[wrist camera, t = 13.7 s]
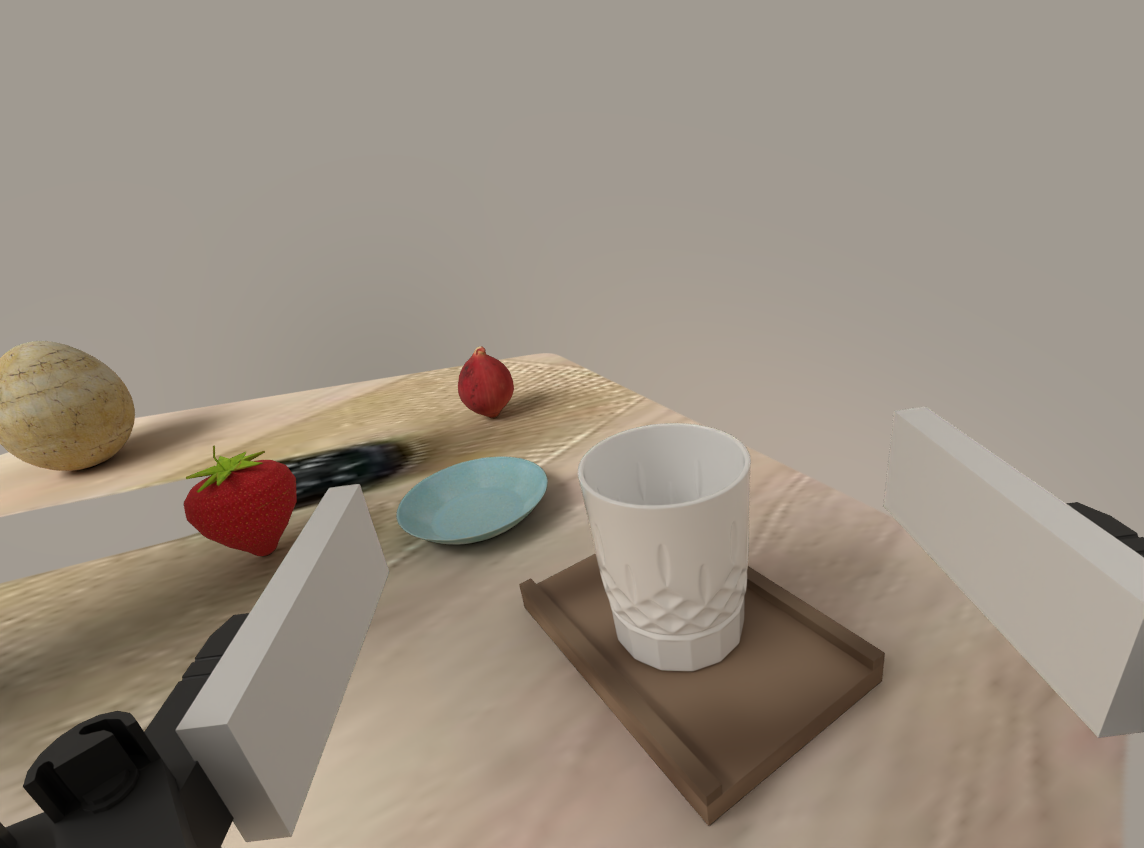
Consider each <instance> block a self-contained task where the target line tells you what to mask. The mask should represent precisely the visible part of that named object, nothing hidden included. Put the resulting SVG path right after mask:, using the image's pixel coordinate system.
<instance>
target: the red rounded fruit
mask: <svg viewBox="0 0 1144 848" xmlns="http://www.w3.org/2000/svg"><path fill="white" fill-rule="evenodd" d="M513 391H514V385H513V380H512V377H511V374H510V372H509V370H508V369H507V367H506V366H505V365H504V364H503V363H502V362H500V361H499V360H497V359H495V358H493V357H491V356H489V355H486V352H485V348H483V347H478V348H477V349H476V350H475V351H474V353H473V355H472V356H471V358H470V359H469V360H468V361H467V362H466V363H465V364H464V366H463V368H462V370H461V372H460V375H459V382H458V393H459V396H460V398H461V401H462V402H463V403H464V404H465V405H466V407H468V408H469V409H470V410H472V411H474V412H475V413H478V414H481V415H484V416H487V417H490V418H494V417H497V416H498V415H499V413H500V412H501V410H502V409H503V408H504V407H505V406H506V405H507V403H508V402H509V400H510V399H511V397H512V394H513Z"/></svg>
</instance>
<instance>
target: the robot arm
mask: <svg viewBox="0 0 1144 848" xmlns="http://www.w3.org/2000/svg"><path fill="white" fill-rule="evenodd" d="M883 506H884V508H885V509H886V510H887V511H888V512H889V513H890V514H891V515H892V516H893V517H894V518H895V519H896V520H897V522H898V523H899V524H900V525H901V526H902V527H903V528H904V529H905V530H906V531H907V532H908V533H909V534H910V536H911V537H912V538H913V539H914V540H915V541H916V542H917V543H918V544H919V545H920V546H921V547H922V549H923V550H924V551H925V552H926V553H927V554H928V555H929V556H930V557H931V558H932V559H933V560H934V561H935V563H936V564H937V565H938V566H939V567H940V568H941V569H942V570H943V571H944V572H945V573H946V574H947V575H948V577H949V578H950V579H951V580H952V581H953V582H954V583H955V584H956V585H957V586H958V587H959V588H960V589H961V591H962V592H963V593H964V594H965V595H966V596H967V597H968V598H969V599H970V600H971V601H972V602H973V603H974V605H975V606H976V607H977V608H978V609H979V610H980V611H981V612H982V613H983V614H984V615H985V616H986V617H987V619H988V620H989V621H990V622H991V623H992V624H993V625H994V626H995V627H996V628H997V629H998V630H999V631H1000V633H1001V634H1002V635H1003V636H1004V637H1005V638H1006V639H1007V640H1008V641H1009V642H1010V643H1011V644H1012V645H1013V647H1014V648H1015V649H1016V650H1017V651H1018V652H1019V653H1020V654H1021V655H1022V656H1023V657H1024V658H1025V659H1026V661H1027V662H1028V663H1029V664H1030V665H1031V666H1032V667H1033V668H1034V669H1035V670H1036V671H1037V672H1038V673H1039V675H1040V676H1041V677H1042V678H1043V679H1044V680H1045V681H1046V682H1047V683H1048V684H1049V685H1050V686H1051V687H1052V689H1053V690H1054V691H1055V692H1056V693H1057V694H1058V695H1059V696H1060V697H1061V698H1062V699H1063V700H1064V701H1065V703H1066V704H1067V705H1068V706H1069V707H1070V708H1071V709H1072V710H1073V711H1074V712H1075V713H1076V714H1077V716H1078V717H1079V718H1080V719H1081V720H1082V721H1083V722H1084V723H1085V724H1086V725H1087V726H1088V727H1089V728H1090V730H1091V731H1092V732H1093V733H1094V734H1095V735H1096V736H1097V737H1098V738H1100V737H1108V736H1116V735H1125V734H1133V733H1141V732H1144V538H1143V537H1141V538H1139V537H1138V535H1137V533H1136V532H1134V531H1133V530H1131V529H1130V528H1128V527H1127V526H1125V525H1124V524H1122V523H1121V522H1119V521H1118V520H1116V519H1114V518H1113V517H1112V516H1110V515H1107V514H1105V513H1102V512H1100V511H1097V510H1095V509H1093V508H1090V507H1088V506H1085V505H1083V504H1080V503H1078V502H1075V503H1067V504H1066V503H1064V502H1063V501H1061V500H1060V499H1058V498H1057V497H1056V496H1054V495H1053V494H1051V493H1050V492H1048V491H1047V490H1046V489H1044V488H1043V487H1041V486H1040V485H1038V484H1037V483H1035V482H1034V481H1033V480H1031V479H1030V478H1028V477H1027V476H1025V475H1024V474H1022V473H1021V472H1020V471H1018V470H1017V469H1015V468H1014V467H1012V466H1011V465H1010V464H1008V463H1007V462H1005V461H1004V460H1002V459H1001V458H999V457H998V456H997V455H995V454H994V453H992V452H991V451H989V450H988V449H986V448H985V447H984V446H982V445H981V444H979V443H978V442H976V441H975V440H973V439H972V438H970V437H969V436H968V435H966V434H965V433H963V432H962V431H960V430H959V429H958V428H956V427H955V426H953V425H952V424H950V423H949V422H947V421H946V420H944V419H943V418H942V417H940V416H939V415H937V414H936V413H934V412H933V411H932V410H930V409H929V408H927V407H920V408H913V409H905V410H898V411H894V416H893V425H892V435H891V442H890V451H889V460H888V469H887V478H886V487H885V495H884V504H883ZM388 574H389V569H388V566H387V563H386V560H385V557H384V554H383V551H382V549H381V546H380V543H379V540H378V537H377V534H376V531H375V528H374V525H373V522H372V519H371V516H370V513H369V510H368V507H367V504H366V502H365V499H364V496H363V493H362V490H361V487H360V484H356V485H349V486H341V487H334V488H329V489H328V491H327V492H326V494H325V495H324V497H323V498H322V500H321V502H320V503H319V505H318V506H317V508H316V509H315V511H314V513H313V514H312V516H311V517H310V519H309V521H308V522H307V524H306V525H305V527H304V528H303V530H302V532H301V533H300V535H299V536H298V538H297V539H296V541H295V543H294V544H293V546H292V547H291V549H290V550H289V552H288V554H287V555H286V557H285V558H284V560H283V561H282V563H281V565H280V566H279V568H278V569H277V571H276V572H275V574H274V576H273V577H272V579H271V580H270V582H269V583H268V585H267V587H266V588H265V590H264V591H263V593H262V595H261V596H260V598H259V599H258V601H257V602H256V604H255V606H254V607H253V609H252V610H251V612H250V613H246V614H239V615H233V616H232V617H231V618H230V619H229V620H228V621H226V622H225V623H224V624H223V625H222V626H221V627H220V628H219V629H217V630H216V631H215V632H214V633H213V634H212V635H211V636H210V637H209V638H208V640H207V641H206V643H205V644H204V646H203V647H202V649H201V650H200V652H199V653H198V654H197V656H196V657H195V662H193V663H191V665H190V666H189V668H188V669H187V671H186V672H185V673H184V675H183V676H182V678H183V679H182V681H180V682H178V684H177V685H176V687H175V688H174V689H173V691H172V692H171V694H170V695H169V697H168V698H167V700H166V701H165V703H164V704H163V706H162V707H161V708H160V710H159V711H158V713H157V714H156V716H155V717H154V719H153V720H152V722H151V723H150V724H149V726H148V727H147V729H146V730H145V732H144V731H143V730H142V728H141V727H140V725H139V724H138V722H137V721H136V719H135V718H134V717H133V716H132V715H131V713H127V712H121V711H115V712H110V713H105V714H101V715H98V716H95V717H93V718H91V719H89V720H87V721H84V722H82V723H80V724H78V725H77V726H75V727H74V728H72V729H71V730H69V731H68V732H66V733H64V734H63V735H61V736H60V737H58V738H57V739H56V740H55V741H54V742H53V743H52V744H51V745H50V746H49V747H47V748H46V749H45V750H44V751H43V752H42V753H41V754H40V755H39V756H38V758H37V759H36V760H35V762H34V763H33V765H32V766H31V767H30V769H29V770H28V772H27V775H26V778H25V781H24V785H23V787H24V789H25V790H26V791H27V792H28V793H29V795H30V796H31V797H32V798H33V799H34V800H35V802H36V803H37V804H38V805H39V806H40V807H41V809H42V810H43V811H44V812H43V813H41V814H38V815H36V816H33V817H31V818H28V819H26V820H23V821H21V822H18V823H16V824H13V825H11V826H8V827H4V826H3V825H2V824H1V823H0V848H221V845H222V843H223V840H224V838H225V836H226V834H227V832H228V830H229V828H230V825H231V823H232V821H233V822H234V824H235V825H236V827H237V829H238V830H239V832H240V833H241V835H242V837H243V838H244V840H245V841H246V842H251V841H260V840H268V839H276V838H284V837H292V834H293V831H294V829H295V826H296V823H297V820H298V818H299V815H300V812H301V810H302V807H303V804H304V802H305V799H306V796H307V793H308V791H309V788H310V785H311V783H312V780H313V777H314V775H315V772H316V769H317V766H318V764H319V761H320V758H321V756H322V753H323V750H324V747H325V745H326V742H327V739H328V737H329V734H330V731H331V729H332V726H333V723H334V720H335V718H336V715H337V712H338V710H339V707H340V704H341V701H342V699H343V696H344V693H345V691H346V688H347V685H348V683H349V680H350V677H351V674H352V672H353V669H354V666H355V664H356V661H357V658H358V655H359V653H360V650H361V647H362V645H363V642H364V639H365V637H366V634H367V631H368V628H369V626H370V623H371V620H372V618H373V615H374V612H375V609H376V607H377V604H378V601H379V599H380V596H381V593H382V591H383V588H384V585H385V582H386V580H387V577H388Z"/></svg>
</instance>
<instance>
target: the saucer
mask: <svg viewBox="0 0 1144 848" xmlns="http://www.w3.org/2000/svg"><path fill="white" fill-rule="evenodd" d="M547 483H548V482H547V476H546V474H545V472H544V470H543V469H542V468H541V467H539V466H538V465H537V464H535V463H533V462H531V461H528V460H525V459H521V458H514V457H488V458H481V459H476V460H470V461H467V462H462V463H459V464H456V465H453V466H451V467H448V468H446V469H443V470H441V471H438V472H437V473H435V474H433V475H431V476H429V477H427V478H425V479H424V480H422V481H421V482H419V483H418V484H417V485H415V486H414V487H413V488H412V489H411V490H410V491H409V492H408V493H407V494H406V495H405V497H404V498H403V499H402V501H401V503H400V504H399V507H398V509H397V515H396V517H397V521H398V524H399V525H400V527H401V528H402V529H403V530H404V531H405V532H407V533H409V534H410V535H413V536H414V537H418V538H421V539H424V540H427V541H431V542H435V543H441V544H468V543H474V542H479V541H483V540H486V539H489V538H492V537H495V536H497V535H499V534H501V533H503V532H505V531H507V530H509V529H510V528H512V527H513V526H515V525H516V524H518V523H519V522H520V521H522V520H523V519H524V518H525V517H526V516H527V515H528V514H529V513H530V512H531V511H532V510H533V509H534V508H535V507H536V505H537V504H538V503H539V501H540V500H541V499H542V497H543V496H544V494H545V492H546V489H547Z"/></svg>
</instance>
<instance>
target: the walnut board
mask: <svg viewBox="0 0 1144 848" xmlns="http://www.w3.org/2000/svg"><path fill="white" fill-rule="evenodd" d="M519 585H520V589H521V594H522V598H523V602H524V606H525V608H526V609H527V611H528V612H529V613H530V614H531V615H532V617H533V618H534V619H535V620H536V621H537V623H538V624H539V625H540V626H541V627H542V628H543V630H544V631H545V632H546V633H547V634H548V636H549V637H550V638H551V639H552V640H553V642H554V643H555V644H556V645H557V646H558V647H559V649H560V650H561V651H562V652H563V653H564V655H565V656H566V657H567V658H568V659H569V661H570V662H571V663H572V664H573V665H574V667H575V668H576V669H577V670H578V671H579V672H580V674H581V675H582V676H583V677H584V678H585V680H586V681H587V682H588V683H589V684H590V686H591V687H592V688H593V689H594V690H595V691H596V693H597V694H598V695H599V696H600V697H601V699H602V700H603V701H604V702H605V703H606V705H607V706H608V707H609V708H610V709H611V711H612V712H613V713H614V714H615V715H616V716H617V718H618V719H619V720H620V721H621V722H622V724H623V725H624V726H625V727H626V728H627V730H628V731H629V732H630V733H631V734H632V735H633V737H634V738H635V739H636V740H637V741H638V743H639V744H640V745H641V746H642V747H643V749H644V750H645V751H646V752H647V753H648V754H649V756H650V757H651V758H652V759H653V760H654V762H655V763H656V764H657V765H658V766H659V768H660V769H661V770H662V771H663V772H664V774H665V775H666V776H667V777H668V778H669V779H670V781H671V782H672V783H673V784H674V785H675V787H676V788H677V789H678V790H679V791H680V793H681V794H682V795H683V796H684V797H685V798H686V800H687V801H688V802H689V803H690V804H691V806H692V807H693V808H694V809H695V810H696V812H697V813H698V814H699V815H700V816H701V817H702V819H703V820H704V821H705V822H706V823H707V825H708V826H709V825H710V824H712V823H713V822H714V821H715V820H716V819H718V818H719V817H720V816H721V815H722V814H724V813H725V812H726V811H727V810H728V809H730V808H731V807H732V806H733V805H734V804H736V803H737V802H738V801H739V800H740V799H742V798H743V797H744V796H745V795H746V794H747V793H749V792H750V791H751V790H752V789H753V788H755V787H756V786H757V785H758V784H759V783H761V782H762V781H763V780H764V779H765V778H767V777H768V776H769V775H770V774H771V773H773V772H774V771H775V770H776V769H777V768H779V767H780V766H781V765H782V764H783V763H784V762H786V761H787V760H788V759H789V758H790V757H792V756H793V755H794V754H795V753H796V752H798V751H799V750H800V749H801V748H802V747H804V746H805V745H806V744H807V743H808V742H810V741H811V740H812V739H813V738H814V737H815V736H817V735H818V734H819V733H820V732H821V731H823V730H824V729H825V728H826V727H827V726H829V725H830V724H831V723H832V722H833V721H835V720H836V719H837V718H838V717H839V716H841V715H842V714H843V713H844V712H845V711H847V710H848V709H849V708H850V707H851V706H852V705H854V704H855V703H856V702H857V701H858V700H860V699H861V698H862V697H863V696H864V695H866V694H867V693H868V692H869V691H870V690H872V689H873V688H874V687H875V686H876V685H878V684H879V683H880V682H881V681H882V675H883V664H884V654H885V653H884V652H883V651H881V650H879V649H878V648H876V647H875V646H873V645H872V644H870V643H868V642H867V641H865V640H864V639H862V638H861V637H859V636H857V635H856V634H854V633H853V632H851V631H850V630H848V629H846V628H845V627H843V626H842V625H840V624H838V623H837V622H835V621H834V620H832V619H831V618H829V617H827V616H826V615H824V614H823V613H821V612H820V611H818V610H816V609H815V608H813V607H812V606H810V605H808V604H807V603H805V602H804V601H802V600H801V599H799V598H797V597H796V596H794V595H793V594H791V593H790V592H788V591H786V590H785V589H783V588H782V587H780V586H779V585H777V584H775V583H774V582H772V581H771V580H769V579H767V578H766V577H764V576H763V575H761V574H760V573H758V572H756V571H755V570H753V569H752V568H750V567H749V566H748V569H747V587H746V593H745V595H744V624H743V628H742V633H741V638H740V642H739V644H738V645H737V646H736V647H735V648H734V649H733V650H732V651H731V652H730V653H729V654H728V655H727V656H726V657H725V658H724V659H723V660H722V661H721V662H718V663H716V664H713V665H710V666H707V667H704V668H701V669H698V670H696V671H663V670H659V669H657V668H654V667H652V666H650V665H647V664H645V663H643V662H640V661H638V660H636V659H634V658H633V656H632V655H631V654H630V653H629V652H628V651H627V650H626V648H625V647H624V646H623V645H622V644H621V643H620V642H619V640H618V637H617V633H616V628H615V623H614V618H613V614H612V609H611V606H610V602H609V599H608V596H607V594H606V593H605V588H604V585H603V581H602V578H601V574H600V570H599V566H598V562H597V557H596V554H594V555H592V556H590V557H588V558H586V559H584V560H582V561H580V562H578V563H576V564H574V565H573V566H571V567H569V568H567V569H565V570H563V571H561V572H559V573H557V574H555V575H553V576H551V577H549V578H547V579H546V580H544V581H542V582H540V583H538V584H536V583H535V582H534V581H533V580H532V579H529V580H527V581H525V582H523V583H521V584H519Z"/></svg>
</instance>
